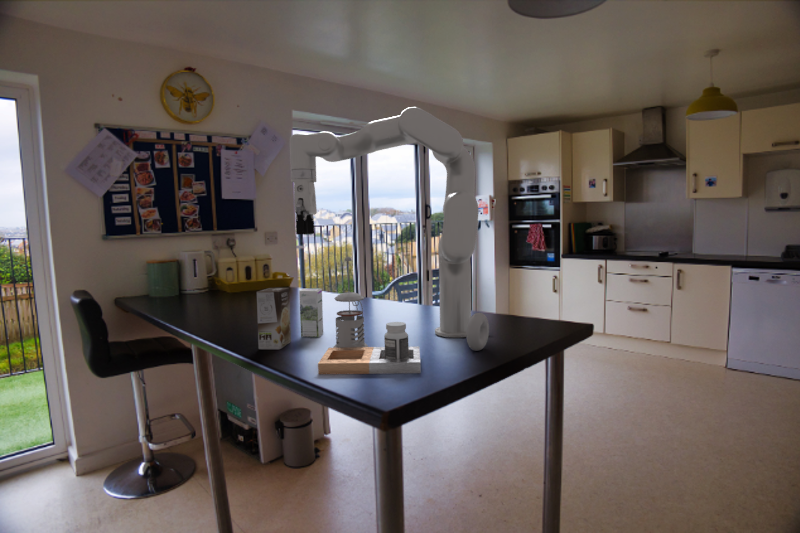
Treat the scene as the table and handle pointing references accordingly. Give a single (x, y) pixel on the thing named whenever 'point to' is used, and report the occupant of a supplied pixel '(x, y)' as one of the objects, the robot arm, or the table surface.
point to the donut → (477, 331)
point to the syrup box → (311, 312)
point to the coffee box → (273, 318)
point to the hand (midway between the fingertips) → (305, 234)
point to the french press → (349, 321)
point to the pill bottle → (396, 341)
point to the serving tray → (367, 361)
